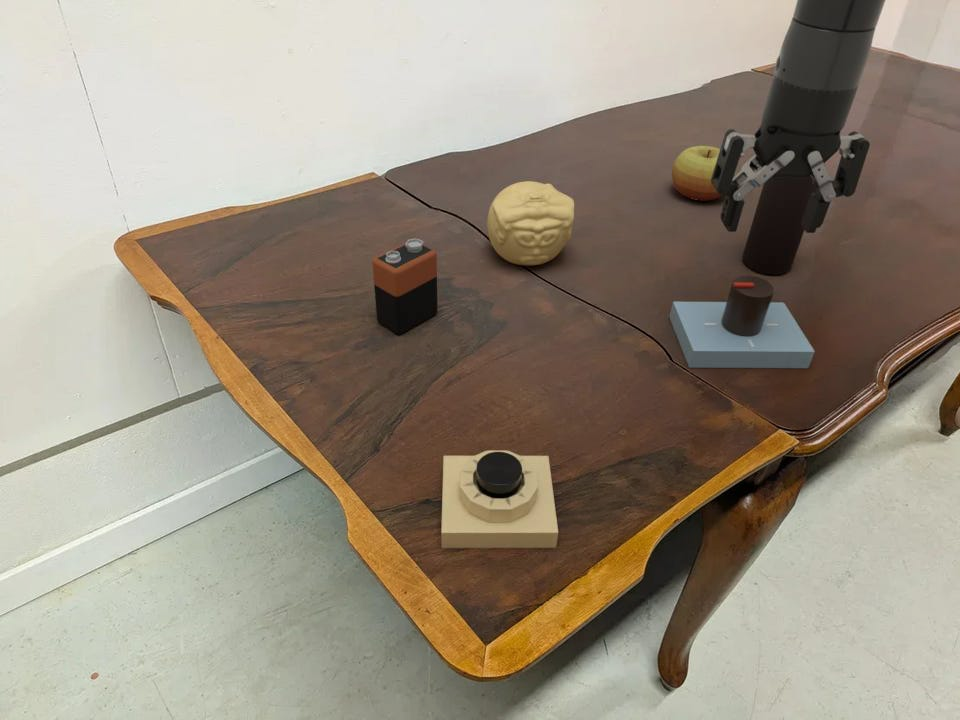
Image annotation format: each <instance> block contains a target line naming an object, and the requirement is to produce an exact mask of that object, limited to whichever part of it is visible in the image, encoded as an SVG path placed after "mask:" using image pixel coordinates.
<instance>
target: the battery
mask: <svg viewBox="0 0 960 720" xmlns="http://www.w3.org/2000/svg"><path fill="white" fill-rule="evenodd" d="M424 243H425V242H424V241H423V240H422V239H420V238H410V239H408V240H407V241H406V242H404V243H403V244H400V245H399V246H396V247H393V248H391V249H390V250H388V251H386V252H384V253H382V254H380V255H377V256H375V257H373V258H372V261H371V264H372V273H373V285H374V286H373V287H374V288H373V289H374V299H375V312H376V319H377V320H376V321H377V322H378V323H379V324H381V325H382V326H384V327H386V328H387V329H389V330H391V331H392V332H394V333H396V334H397V335H402V334H404V333H405V332H407V331H409V330H410V329H413V328H414V327H416V326H418V325H419V324H421V323H423V322H424V321H427V320H428V319H429V318H431V317H433V316H435V315H436V314H437V313H438V265H437V264H438V258H437V256H438V253H437V251H436V250H435V249H433V248H431V247H428V246H426V245H425V244H424Z"/></svg>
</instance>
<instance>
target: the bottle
mask: <svg viewBox="0 0 960 720" xmlns="http://www.w3.org/2000/svg"><path fill="white" fill-rule="evenodd" d="M824 165H825V167H826V164H825V163H824ZM826 168H827V167H826ZM815 192H816V190H815V188H814V186H813V184H812V182H811V179H810V177H809V176H808V177H806V178H804V180H795V179H791V178H787V179H783V180H774V179H773V178H772V177H771V178H770V179H768V180H767V181H766V182H765V183H764V184H763V185H762V188H761V191H760V196H759V198H758V201H757V205H756V208H755V212H754V216H753V219H752V222H751V225H750V229H749V232H748V236H747V239H746V243H745V246H744V250H743V253H742V256H741V257H742V258H743V259H742V261H743V262H742V263H744V264H745V265H746V267H747V266H748V267H747V268H749V269H750V268H751V269H750V270H752V269H753V270H752V271H754V270H755V272H757V273H759V272H760V273H759V274H763V273H764V274H763V275H768V274H771V276H779V274H780V275H784V274H787V273H788V272H790V271H791V269H792V267H793V265H794V262H795V260H796V259H795V258H796V256H797V253H798V250H799V247H800V244H801V241H802V239H803V236H804V233H805V230H804V229H803V227H802V225H801V222H802V219H803V216H804V213H805V210H806V207H807V204H808V201H809V198H810V195H811V193H815Z"/></svg>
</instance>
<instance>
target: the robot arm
mask: <svg viewBox="0 0 960 720" xmlns="http://www.w3.org/2000/svg"><path fill="white" fill-rule="evenodd" d="M885 3H886V0H796V4H795V7H794V11H793V15H792V18H791V21H790V24H789V26H788V28H787V31H786V33H785V35H784V38H783V41H782V44H781V46H780V50H779V54H778V56H777V58H776V61H775V66H774V72H773V76H772V79H771V83H770V87H769V90H768V94H767V98H766V100H765V105H764V108H763V111H762V117H761V123H760V125H759V128H758V129H757V130H756V132H755V133H754V134H746V133H738V132H737V130H736V129H734V128H730V129H728V130H726V132H725V133H724V136H723V139H722V143H721V146H720V148H719V149H720V152H719V155H718V158H717V162H716V165H715V168H714V171H713V175H712V178H711V183H712V184H713V186H714V187H715V189H716V191H717V192H718V194H720V195H722V196H724V195H725V197H724V201H723V205H722V210H721V212H720V220H721V223H722V224H723V227H725V229H726V230H727V232H728V233H736V231H737V230H738V227H739V223H740V219H741V215H742V212H743V209H744V205H745V200H744V199H745V198H746V197H747V196H748V195H749V194H750V193H752V191H754V190H755V189H756V188H760V187H763V184H764V183H765V182H766V181H767V180H768V179H770V178H771V177H772V178H773V179H774V180H783V179H787V178H791V179H795V180H804V178H806V177H808V176H809V177H810V179H811V182H812V184H813V186H814V188H815V190H816V192H815V193H811V195H810V198H809V201H808V204H807V207H806V210H805V213H804V216H803V219H802V222H801V225H802V227H803V229H804V232H805V233H806V234H814V233H816V231H817V229H819V228H821V227H822V225H823V224H824V221H825V219H826V215H827V213H828V211H829V207H830V205H831V203H832V202H833V201H835V199H836V198H840V197H843V196H844V197H846V198H850V197H852V196H853V195H854V194H855V193H856V190H857V187H858V183H859V181H860V177H861V174H862V171H863V168H864V166H865V163H866V162H865V161H866V159H867V156H868V153H869V150H870V146H871V144H870V141H868V140H867V138H866V137H864V136H863V135H862V134H861V133H859V132H858V131H855V130H853V131H851V132H849V133H848V135H841V131H842V130H843V128H844V127H845V125H846V122H847V120H848V117H849V114H850V111H851V108H852V106H853V102H854V100H855V98H856V95H857V91H858V89H859V86H860V83H861V81H862V78H863V74H864V72H865V68H866V66H867V63H868V60H869V57H870V53H871V50H872V45H873V39H874V35H875V32H876V27H877V25H878V23H879V20H880V18H881V14H882V11H883V9H884V6H885ZM749 149H753V151H754V154H753V155H752V156H751V157H750V158H749V159H748V160H747V161H746V162H745V163H743V164H742V166H741V169H740V170H739V172H738V173H736V172H737V168H738V164H739V162H740V159H741V158H744V157H745V156H746V153H747V152H748V150H749ZM837 152H838V153H839V155H840V158H839V163H838V165H837V169H836V171H835V172H836V173H835V176H834V179H833V180H832V178H831V177H830V174H829V172H828V169H827V167H825V166H826V164H825V163H827V161H829V159H831V158H832V157H833V156H834V155H835V154H836V153H837ZM824 164H825V165H824ZM760 167H761V168H760ZM759 168H760V169H759ZM758 169H759V170H758ZM735 171H736V172H735ZM734 174H735V177H734Z"/></svg>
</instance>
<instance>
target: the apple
mask: <svg viewBox="0 0 960 720" xmlns="http://www.w3.org/2000/svg"><path fill="white" fill-rule="evenodd" d="M720 149H721V148H718V147H715V146H710V145H696V146H690V147H688V148H686V149H684V150H683V151H681V153H679V154H678V156H677V157H676V159H675V160H674V162H673V165H672V168H671V179H672V183H673V186H674V188H675V190H677V191H678V192H679V194H680V195H682V196H683V197H685V196H686V197H685V198H687V197H689V198H693V199H697V200H710V201H713V200H716V198H717V199H719V198H721V197H722V196H723V195H720V194H718V192H717V191H716V189H715V187H714V186H713V184H712V183H711V178H712V175H713V171H714V168H715V165H716V162H717V158H718V155H719V152H720ZM736 172H737V170H736V171H735V174H734V177H735V176H736ZM689 198H688V199H689ZM693 199H692V200H693ZM697 200H696V201H697Z"/></svg>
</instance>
